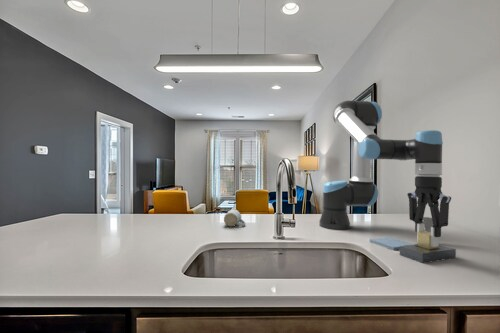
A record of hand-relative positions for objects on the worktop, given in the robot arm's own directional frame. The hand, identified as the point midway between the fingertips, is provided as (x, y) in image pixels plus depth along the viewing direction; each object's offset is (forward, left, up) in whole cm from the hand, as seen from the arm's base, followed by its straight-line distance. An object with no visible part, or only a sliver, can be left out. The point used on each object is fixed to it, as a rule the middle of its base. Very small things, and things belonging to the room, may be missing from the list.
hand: (427, 244), depth 86 cm
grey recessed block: (0, 0, -4) cm, 4 cm away
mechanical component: (-12, +18, -4) cm, 22 cm away
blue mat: (-14, 0, -4) cm, 15 cm away
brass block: (0, 0, -4) cm, 4 cm away
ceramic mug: (-63, -50, -5) cm, 80 cm away
